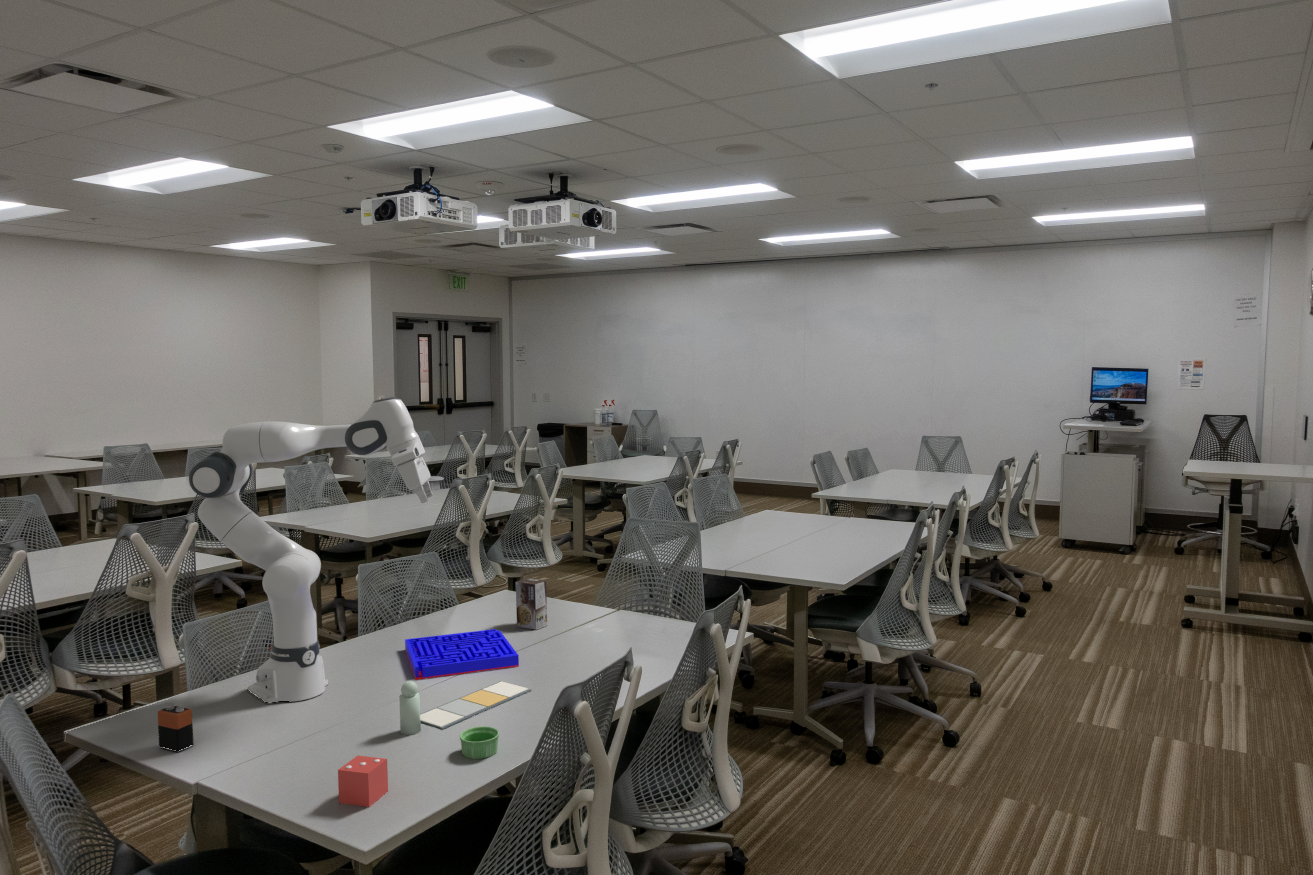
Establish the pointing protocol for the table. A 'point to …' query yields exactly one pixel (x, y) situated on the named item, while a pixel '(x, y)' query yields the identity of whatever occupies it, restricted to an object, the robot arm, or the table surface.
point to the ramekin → (479, 742)
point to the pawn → (409, 709)
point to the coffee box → (531, 603)
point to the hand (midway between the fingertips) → (427, 499)
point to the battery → (175, 727)
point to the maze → (460, 653)
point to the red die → (363, 781)
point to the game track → (471, 704)
